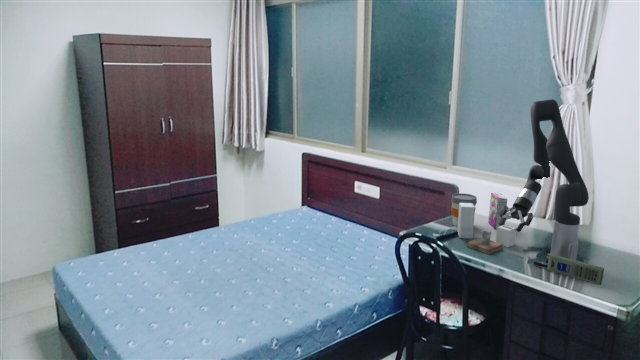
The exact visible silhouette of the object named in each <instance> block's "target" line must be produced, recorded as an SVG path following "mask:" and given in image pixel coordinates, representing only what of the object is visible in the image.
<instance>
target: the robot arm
mask: <svg viewBox="0 0 640 360" xmlns="http://www.w3.org/2000/svg"><path fill="white" fill-rule="evenodd" d="M529 112H530V123H531V132H532V139H533V161H534V163H536V164H535V165H532V166H531V167H530V168H529V171H528V176H527V179H526V183H525V184H524V186H523V188H522V190H521V191H520V192H519V193H518V195H517V197H516V199H515V201H514V202H513V205H512V207H508V205H507V206H505V207H504V208H503V210H502V211H501V213H500V214H499V215H500V217H501V218H502V219H501V221H500V222H499V225H500V226H502V225H504V223H505V224H506V222H507V221H508V220H510V219H514V220H518V221H519V220H520V223H519V224H518V225H517V227H516V228H517V229H516V233H521V231H522V230H523V228H524V227H526V226H527V227H529V226H531V223H532V221H533V218H534V217H535V216H534V214H533V212H530V210H531V209H532V207H533V205H534V204H535V203H536V202H535V201H536V199H537V197H538V195H539V194H540V193H541V190H542V185H541V184H542V183H540V182H538V180H537V179H542V178H543V177H546V178H548V177H550V166H549V163H550V162H549V161H551V164H552V165H553V166H554V167H555V168H556V169H557V170H558V171H559V172H560V173H561V175H563V176H564V177H565V179H566V181H567V182H568V183H563V184H560V185H558V187H557V188H556V191H555V200H554V201H555V202H554V216H555V217H554V222H553V223H554V224H553V231H552V239H551V246H550V252H549V254H552V255H556V256H560V257H564V258H568V259H572V260H576V261H577V257H578V252H579V251H578V249H579V245H580V241H579V240H578V235H579V228H580V223H581V217H580V216H579V215H578V214H576V213H573V212H571V207H573V208H574V207H584V206H587V204H588V203H589V196H590V195H589V191H588V188H587V186H586V184H585V181H584V179H583V177H582V174H581V172H580V170H579V168H578V166H577V162H576V160H575V157H574V154H573V149H572V146H571V144H570V141H569V139H568V136H567V133H566V130H565V126H564V123H563V119H562V116H561V110H560V106H559V104H558V102H557V100H556V99H552V98H551V99H545V100H537V101H533V102H532V103H531V105H530V111H529ZM547 121H551V124H552V128H551V131H550V134H549V137H548V138H547V137H546V135H545V134H544V132H543V131H542V129H541V122H547ZM526 217H527V218H526ZM525 218H526V220H525Z"/></svg>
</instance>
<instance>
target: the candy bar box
mask: <svg viewBox="0 0 640 360" xmlns="http://www.w3.org/2000/svg"><path fill="white" fill-rule="evenodd" d="M489 201H490V202H489V211H488V224H489V225H490V226H491V227H492V228H493V229H494V230H496V231H497V227H499V226H500V225H499V222H500V221H501V219H502V218H501V217H500V215H499V214H500V213H501V211H502V210H503V208H504V207H505V206H507V207H508V198H507V197H505V195H503V194H502V193H501V192H490V200H489ZM504 225H506V222H505V223H504Z"/></svg>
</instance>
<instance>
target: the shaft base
mask: <svg viewBox="0 0 640 360" xmlns="http://www.w3.org/2000/svg"><path fill="white" fill-rule="evenodd" d="M481 232H482V233H481V237H479V238H477V239H476V238H475V239H474V240H470V241H468V242H467V247H468V248H470V249H474V250H475V251H480V252H482V253H485V254H488V255H489V254H493V253H495V252H498V251H500V250H503V249H504V246H503V244H501V243H498V242H496V240H492V239H491V234H492V231H491V230H487V229H485V228H484V229H482V230H481Z"/></svg>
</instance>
